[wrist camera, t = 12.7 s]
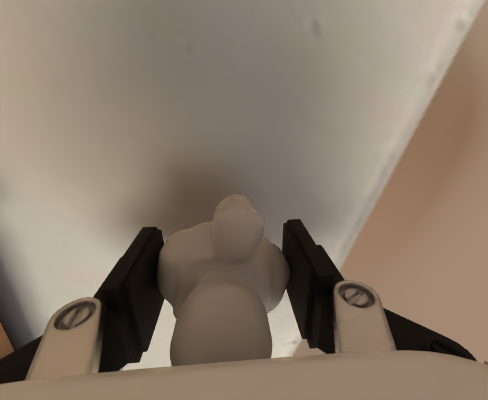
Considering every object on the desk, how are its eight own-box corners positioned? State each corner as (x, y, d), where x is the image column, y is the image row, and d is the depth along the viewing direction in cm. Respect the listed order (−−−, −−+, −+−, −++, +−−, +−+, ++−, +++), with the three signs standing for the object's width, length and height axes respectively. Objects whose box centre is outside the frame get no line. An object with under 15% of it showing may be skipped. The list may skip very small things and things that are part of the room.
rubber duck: (165, 282, 13) (82, 523, 5) (180, 166, 11) (68, 314, 3) (260, 294, 14) (300, 518, 6) (294, 189, 11) (422, 350, 4)
